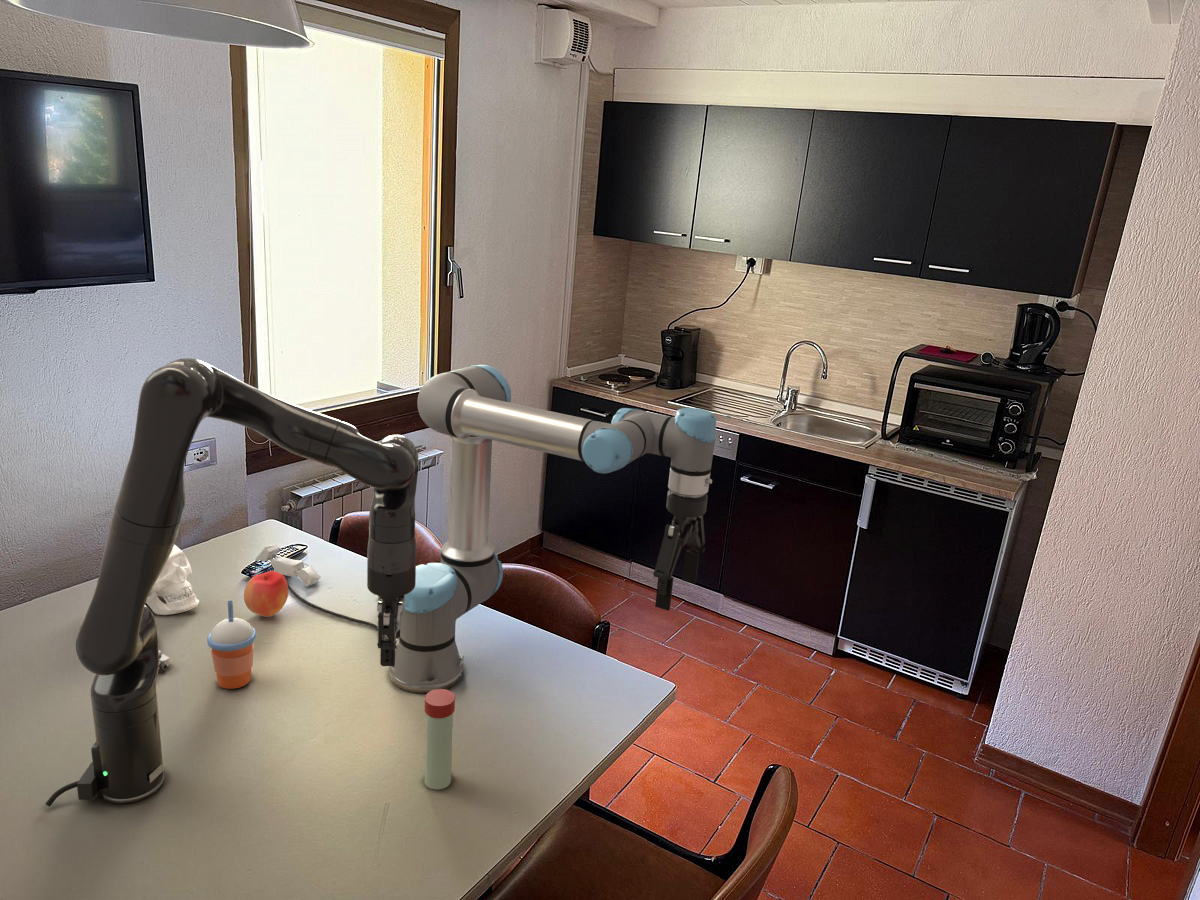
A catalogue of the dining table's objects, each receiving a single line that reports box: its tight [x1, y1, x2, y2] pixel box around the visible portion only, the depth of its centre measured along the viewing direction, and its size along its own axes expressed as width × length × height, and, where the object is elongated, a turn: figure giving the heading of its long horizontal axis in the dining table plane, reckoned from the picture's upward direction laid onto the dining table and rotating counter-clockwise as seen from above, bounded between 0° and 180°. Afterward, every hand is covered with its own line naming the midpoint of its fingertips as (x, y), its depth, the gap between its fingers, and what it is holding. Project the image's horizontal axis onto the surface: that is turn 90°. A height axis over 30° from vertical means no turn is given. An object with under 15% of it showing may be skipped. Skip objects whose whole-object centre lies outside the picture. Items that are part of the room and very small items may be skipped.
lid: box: [424, 689, 456, 718], centre depth 146 cm, size 5×5×2 cm
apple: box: [243, 570, 289, 618], centre depth 199 cm, size 10×10×10 cm
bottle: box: [424, 713, 454, 791], centre depth 148 cm, size 5×5×17 cm
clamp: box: [254, 544, 322, 587], centre depth 219 cm, size 20×4×7 cm, turn 62°
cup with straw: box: [206, 600, 257, 690], centre depth 172 cm, size 9×9×18 cm
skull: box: [146, 544, 200, 616], centre depth 200 cm, size 13×22×16 cm, turn 73°
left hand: (390, 651), depth 140 cm, fingers open, 8 cm apart
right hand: (676, 594), depth 165 cm, fingers open, 13 cm apart
